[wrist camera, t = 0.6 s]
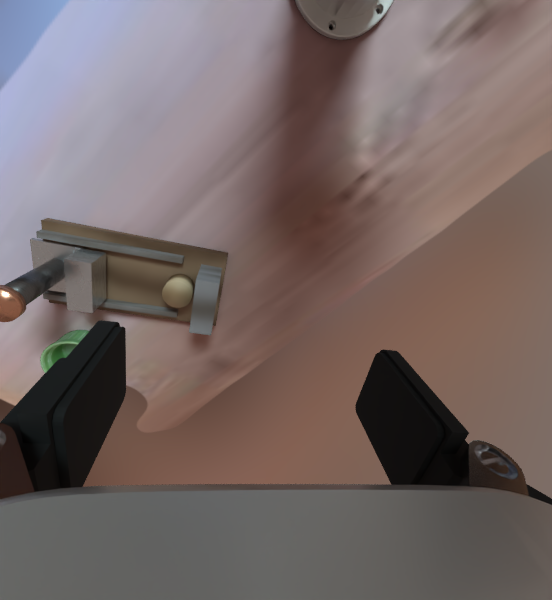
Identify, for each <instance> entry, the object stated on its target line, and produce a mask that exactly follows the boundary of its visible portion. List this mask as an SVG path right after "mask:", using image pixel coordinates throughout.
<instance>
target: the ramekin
mask: <svg viewBox="0 0 552 600" xmlns="http://www.w3.org/2000/svg"><path fill="white" fill-rule="evenodd" d="M88 332H89V331H86V330H76V331H71V332H69V333H67V334H65V335H64V336H62V337H61V338H60V339H59V340H58V341H56V342H55V343H53V344H51V345H50V346H48V347H47V348H46V349H45V350H44V351H43V353H42V355H41V360H40V361H41V366H42V369H43V371H44V372H45V373H46V372H47V371H48V370H49V369H50V368H51V366H52V365H53V364H54V363H55V362H56V361H57V360H59V359H60V358H66V357H67V356H68V355H69V354H70V353H71V351H72V350H73V349H74V348H75V347H76V346H77V345H78V344H79V342H80V341H81V340H82V339H83V338H84V337H85V336H86V334H87V333H88Z"/></svg>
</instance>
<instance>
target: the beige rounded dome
mask: <svg viewBox="0 0 552 600" xmlns="http://www.w3.org/2000/svg"><path fill="white" fill-rule="evenodd" d="M194 289H195V285H194V282H193V280H192V279H191V278H190V277H189V276H187V275H185V274H175V275H172V276H171V277H170V278H169V279H168V281H167V283H166V285H165V286H164V288H163V290H162V297H163V300H164V301H165V302H166V303H167V304H168V305H170V306H172V307H175V308H181V307H184V306H186V305H188V304H189V303H190V301H191V298H192V295H193V292H194Z"/></svg>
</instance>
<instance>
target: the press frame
mask: <svg viewBox="0 0 552 600" xmlns="http://www.w3.org/2000/svg"><path fill="white" fill-rule="evenodd" d="M41 223H42V230H39V231H37V232H36V233H37V238H41V239H43V240H46V241H52V242H57V243H63V244H68V245H74V246H79V247H84V249H87V250H93V251H98V252H104V253H106V300H105V301H104V302H103V303H102V304H101V305H100V306H99V307H98V308H97V309H100V310H107V311H114V312H122V313H129V314H136V315H143V316H150V317H157V318H164V319H171V320H179V321H186V322H190V329H189V332H190V333H198V334H205V335H211V332H212V326H213V325H214V326H215V325H216V320H217V314H218V308H219V302H220V297H221V291H222V285H223V279H224V273H225V268H226V262H227V256H228V253H226V252H221V251H216V250H210V249H205V248H200V247H195V246H190V245H185V244H179V243H174V242H169V241H164V240H159V239H153V238H148V237H143V236H138V235H133V234H128V233H122V232H117V231H112V230H107V229H102V228H96V227H91V226H86V225H81V224H76V223H71V222H65V221H60V220H55V219H50V218H47V219H44V220H41ZM175 274H185V275H187V276H189V277H190V278H191V279H192V280H193V282H194V285H195V289H194V292H193V295H192V298H191V301H190V303H189V304H188V305H186V306H184V307H181V308H175V307H172V306H170V305H168V304H167V303H166V302H165V301H164V300H163V297H162V290H163V288H164V286H165V285H166V283H167V281H168V279H169V278H170V277H171V276H172V275H175ZM43 298H44V299H49V302H50V303H57V304H65V305H67V299H66V293H64V292H58V291H51V290H47V291H46V292H45V293H43Z"/></svg>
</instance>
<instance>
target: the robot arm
mask: <svg viewBox="0 0 552 600" xmlns="http://www.w3.org/2000/svg"><path fill="white" fill-rule="evenodd" d="M393 1H394V0H295V2H296V5H297V7H298V9H299V11H300V12H301V14H302V16H303V17H304V19H305V20H306V21H307V22H308V23H309V24H310V26H311V27H312V28H314V29H315V30H316V31H318V32H319V33H320V34H322V35H324V36H326V37H329V38H332V39H338V40H344V39H352V38H355V37H358V36H360V35H362V34H364V33H365V32H367V31H368V30H370V29H371V28H372V27H373V26H374V25H376V24H377V23H378V22H379V21H380V20H381V18H382V17H383V16H384V15H385V14H386V12H387V11H388V9H389V8H390V6H391V5H392V3H393ZM376 10H377V11H378V14H377V13H376ZM329 26H331V27H332V30H330V29H329ZM125 393H126V347H125V328H124V327H120V325H119V323H118V322H110V321H98V322H97V323H96V324H95V325H94V327H93V328H92V329H91V330H90V331H89V332H88V333H87V334H86V336H85V337H84V338H83V339H82V340H81V341H80V342H79V344H78V345H77V346H76V347H75V348H74V349H73V350H72V351H71V353H70V354H69V355H68V356H67V357H66V358H60V359H59V360H57V361H56V362H55V363H54V364H53V365H52V366H51V368H50V369H49V370H48V371H47V372H46V373H45V374H44V375H43V376H42V377H41V379H40V380H39V381H38V382H37V383H36V384H35V385H34V386H33V387H32V388H31V389H30V391H29V392H28V393H27V394H26V395H25V396H24V397H23V398H22V399H21V400H20V401H19V403H18V404H17V405H16V406H15V407H14V408H13V409H12V410H11V411H10V413H9V414H8V415H7V416H6V417H5V418H4V419H3V420H2V421H1V422H0V600H552V499H551V498H549V497H548V496H546V495H544V494H543V493H541V492H539V491H537V490H536V489H534V488H532V487H530V486H529V485H527V484H526V481H525V476H524V474H523V472H522V469H521V468H520V467H519V465H518V464H517V463H516V462H515V461H514V460H513V459H512V458H511V457H510V456H509V455H508V454H506V453H505V452H504V451H502V450H501V449H499V448H497V447H496V446H494V445H492V444H490V443H487V442H484V441H480V440H475V441H472V442H470V443H469V444H468V443H467V442H466V441H465V439H466V437H467V435H468V434H469V433H468V431H467V430H466V429H465V428H464V427H463V425H462V424H461V423H460V422H459V421H458V420H457V419H456V417H455V416H454V415H453V414H452V413H451V412H450V411H449V409H448V408H447V407H446V406H445V405H444V404H443V403H442V401H441V400H440V399H439V398H438V397H437V396H436V395H435V393H434V392H433V391H432V390H431V389H430V388H429V387H428V385H427V384H426V383H425V382H424V381H423V380H422V379H421V378H420V376H419V375H418V374H417V373H416V372H415V371H414V369H413V368H412V367H411V366H410V365H409V364H408V363H407V361H406V360H405V359H404V358H403V357H402V356H401V355H400V354H399V353H398V352H397V351H392V350H381V351H380V352H379V353H377V354H376V355H375V357H374V360H373V362H372V365H371V367H370V370H369V372H368V375H367V377H366V380H365V383H364V385H363V387H362V390H361V392H360V395H359V397H358V400H357V402H356V413H357V415H358V417H359V419H360V421H361V423H362V425H363V427H364V429H365V431H366V433H367V435H368V438H369V440H370V442H371V444H372V446H373V448H374V450H375V452H376V454H377V456H378V458H379V460H380V462H381V464H382V466H383V468H384V470H385V472H386V474H387V476H388V478H389V480H390V482H391V484H392V485H369V484H366V485H365V484H362V485H361V484H358V485H357V484H205V485H202V484H198V485H197V484H195V485H193V484H192V485H191V484H188V485H121V486H91V487H83V484H84V482H85V480H86V478H87V476H88V474H89V472H90V470H91V468H92V465H93V463H94V461H95V459H96V457H97V455H98V453H99V451H100V449H101V446H102V444H103V442H104V440H105V438H106V436H107V434H108V432H109V430H110V428H111V425H112V423H113V421H114V419H115V417H116V415H117V413H118V411H119V409H120V407H121V404H122V402H123V400H124V397H125Z"/></svg>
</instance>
